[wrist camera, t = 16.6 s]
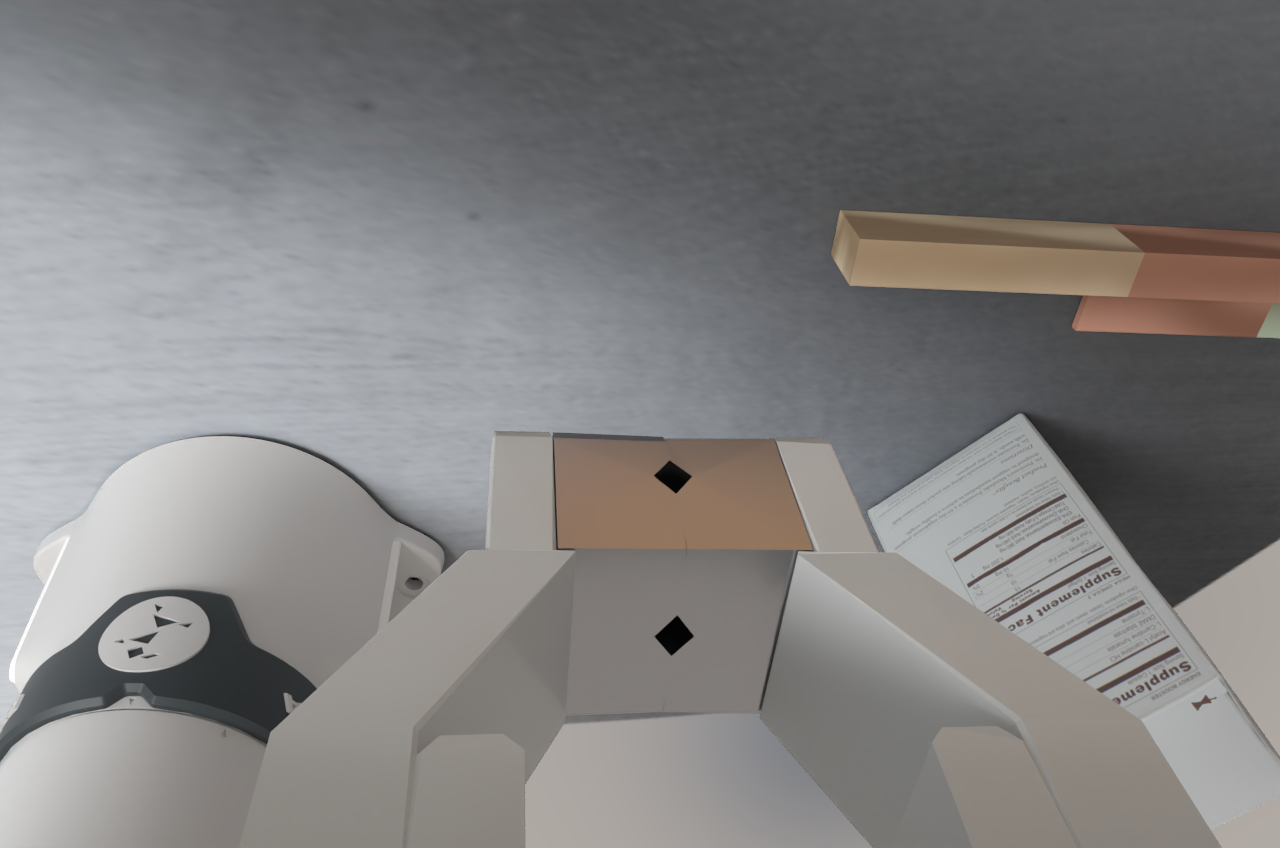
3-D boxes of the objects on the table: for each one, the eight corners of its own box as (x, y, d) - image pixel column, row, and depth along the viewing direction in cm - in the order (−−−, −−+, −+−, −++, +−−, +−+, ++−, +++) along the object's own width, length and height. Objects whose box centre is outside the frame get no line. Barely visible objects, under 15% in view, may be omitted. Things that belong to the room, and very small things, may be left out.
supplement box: (860, 509, 51) (986, 795, 37) (1020, 405, 48) (1222, 671, 34) (951, 606, 55) (1094, 894, 41) (1102, 517, 52) (1309, 792, 38)
